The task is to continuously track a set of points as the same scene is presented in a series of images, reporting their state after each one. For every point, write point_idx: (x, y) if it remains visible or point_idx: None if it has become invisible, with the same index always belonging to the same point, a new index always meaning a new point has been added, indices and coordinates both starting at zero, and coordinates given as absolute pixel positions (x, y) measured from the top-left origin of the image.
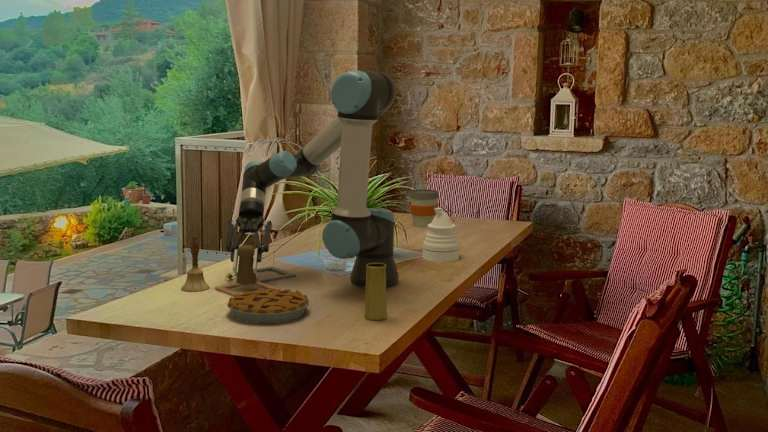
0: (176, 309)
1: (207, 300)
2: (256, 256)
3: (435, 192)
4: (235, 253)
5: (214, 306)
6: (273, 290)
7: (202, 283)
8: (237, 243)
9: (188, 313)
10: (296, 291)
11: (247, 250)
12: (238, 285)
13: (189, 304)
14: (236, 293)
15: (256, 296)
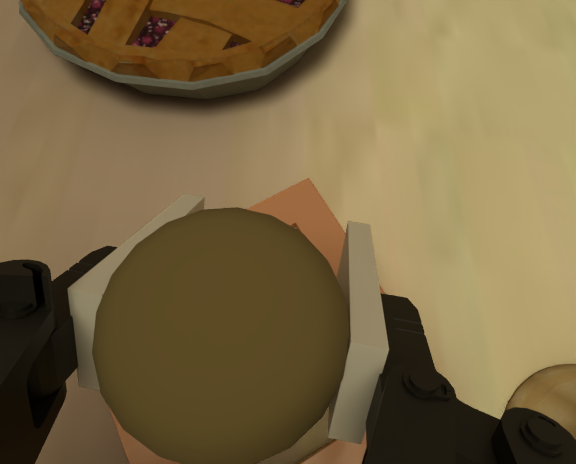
0: (566, 75)
1: (460, 182)
2: (127, 242)
3: None
4: (368, 304)
5: (413, 92)
6: (138, 48)
7: (561, 414)
8: (367, 454)
9: (501, 26)
10: (35, 7)
11: (213, 209)
12: (312, 455)
13: (531, 133)
14: (323, 243)
15: None
